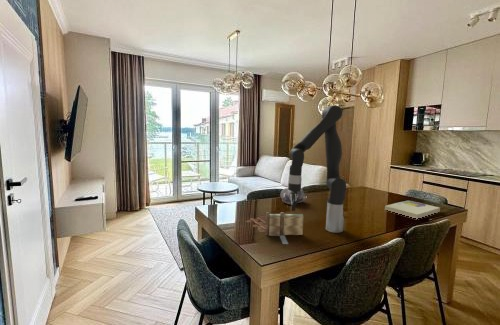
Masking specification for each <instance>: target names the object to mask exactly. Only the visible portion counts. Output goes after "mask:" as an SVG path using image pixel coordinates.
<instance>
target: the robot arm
mask: <svg viewBox="0 0 500 325" xmlns="http://www.w3.org/2000/svg"><path fill="white" fill-rule="evenodd" d="M342 116H343V108H341V107H340V106H339V105H330V106H327V107H325V108H323V110H322V113H321V117H322V119H321V121H319V122H318V123H317V124H316V125H315V126H314V127H313V128H311V129H310V130H309V131H308V132H307V133H306V134H305V135H304V136H303V137H302V138H301V140H300V141H298V143H297V144H296V145H294V146H293V147H292V148H291V149H290V150H289V154H288V156H289V158H290V159H291V165H290V166H289V176H288V183H287V184H288V185H287V188H288V190H290V191H291V193H290V200H291V201H290V202H291V204H290V206H291V208H290V210H291V212H296V206H297V205H298V203H297V202H298V198H297V197H298V194H297V192H298V191H302V190H301V188H302V173H303V172H302V168H303V165H304V162H305V161H304V160H305V152H306V151H308V150H310V149H311V148H312V147H313V146H314V144H316V142H317V141H319V139H320V138H321V137H322V135H324V144H325V146H324V147H325V149H324V150H325V158H326V186H327V188H328V189H329V190H330V196H328V197H327V201H326V203H327V204H326V217H325V218H326V219H325V230H326V231H328V232H330V233H335V234H337V233H338V234H339V233H342V232H343V231H344V219H345V217H344V215H343V213H344V212H343V211H344V202H345V200H346V196H347V195H346V193H347V182H346V180H345V179H343V178H342V177H340V164H341V160H342V156H343V149H342V148H343V147H342V142H341V139H340V137H339V134H338V131H337V122H338V121H339V120H340V119H341V118H342Z"/></svg>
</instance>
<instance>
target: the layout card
mask: <svg viewBox="0 0 500 325" xmlns="http://www.w3.org/2000/svg"><path fill="white" fill-rule="evenodd" d="M274 236H275V237H279V238H280V241H281V243H282V245H289V242H288V240H287V237H286V235H268V237H274Z"/></svg>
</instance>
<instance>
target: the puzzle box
mask: <svg viewBox="0 0 500 325" xmlns="http://www.w3.org/2000/svg"><path fill="white" fill-rule="evenodd" d="M385 210H388V211H391V212H390V213H392V212H395V213H398V214H397V215H399V214H402V215H405V216H404V217H406V216H409V217H408V218H410V217H412V218H411V219H413V218H416V219H415V220H417V219H418V218H421V219H423V218H422V217H424V218H426V217H425V216H427V217H429V216H428V215H430V216H432V215H431V214H433V215H435V214H434V213H436V214H439V213H440V211H441V207H439V206H434V205H430V204H426V203H421V202H417V201H413V200H405V201H400V202H394V203H391V204H387V205H385V206H384V211H385ZM388 211H387V212H388ZM438 212H439V213H438ZM395 213H394V214H395ZM402 215H401V216H402ZM418 220H419V219H418Z"/></svg>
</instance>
